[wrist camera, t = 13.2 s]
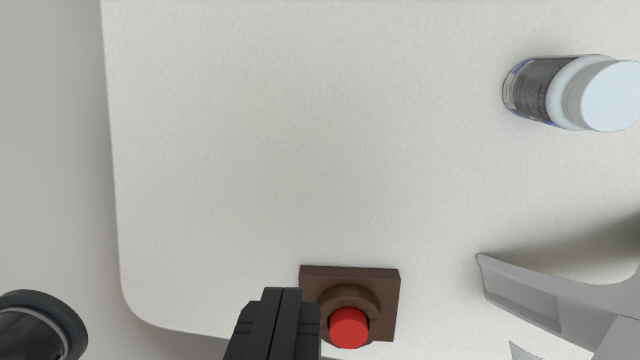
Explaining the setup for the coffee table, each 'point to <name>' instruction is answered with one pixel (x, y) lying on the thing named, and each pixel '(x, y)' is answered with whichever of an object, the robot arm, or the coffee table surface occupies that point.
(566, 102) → the pill bottle
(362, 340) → the button
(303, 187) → the coffee table surface
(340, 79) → the coffee table surface
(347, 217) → the coffee table surface
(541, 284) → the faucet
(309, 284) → the button box
